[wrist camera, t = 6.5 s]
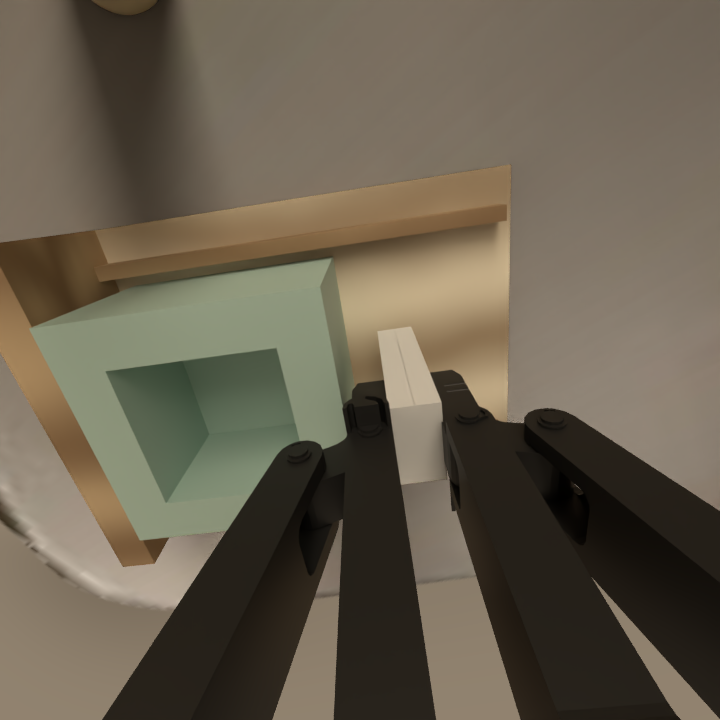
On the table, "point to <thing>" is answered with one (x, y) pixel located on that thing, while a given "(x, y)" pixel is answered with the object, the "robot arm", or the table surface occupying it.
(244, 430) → the pale green hollow block
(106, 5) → the dowel
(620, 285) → the table surface
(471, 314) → the rail board
